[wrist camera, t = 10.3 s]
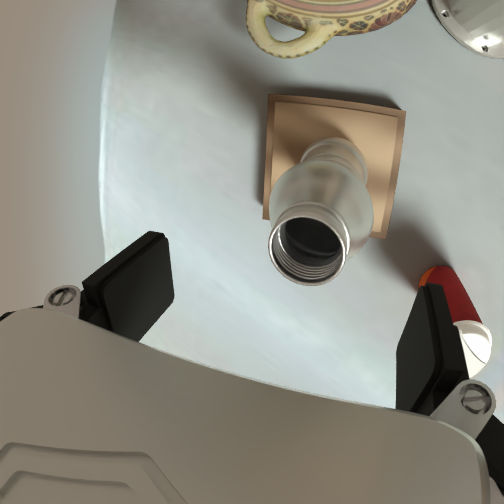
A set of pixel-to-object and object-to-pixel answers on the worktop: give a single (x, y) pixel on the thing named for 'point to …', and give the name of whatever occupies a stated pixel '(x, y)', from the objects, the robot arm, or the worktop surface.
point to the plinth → (343, 126)
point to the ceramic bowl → (319, 21)
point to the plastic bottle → (320, 212)
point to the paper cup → (463, 317)
